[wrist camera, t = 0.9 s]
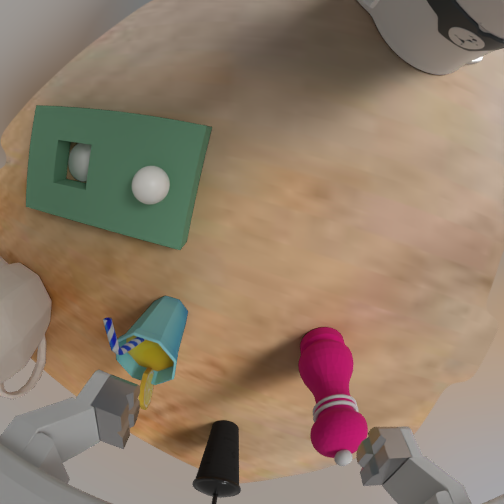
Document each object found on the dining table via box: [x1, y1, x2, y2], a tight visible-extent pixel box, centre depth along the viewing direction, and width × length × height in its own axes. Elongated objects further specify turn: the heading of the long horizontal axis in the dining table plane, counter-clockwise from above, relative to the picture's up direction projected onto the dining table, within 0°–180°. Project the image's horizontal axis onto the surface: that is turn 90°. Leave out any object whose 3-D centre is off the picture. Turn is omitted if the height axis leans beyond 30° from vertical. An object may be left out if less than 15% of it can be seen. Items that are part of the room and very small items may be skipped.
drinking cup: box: [193, 420, 241, 504], centre depth 40 cm, size 8×8×20 cm
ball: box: [132, 166, 170, 204], centre depth 29 cm, size 4×4×4 cm
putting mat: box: [26, 105, 212, 250], centre depth 32 cm, size 14×24×3 cm, turn 76°
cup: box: [103, 296, 188, 410], centre depth 33 cm, size 14×8×15 cm, turn 8°
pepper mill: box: [298, 327, 368, 466], centre depth 32 cm, size 7×7×20 cm
